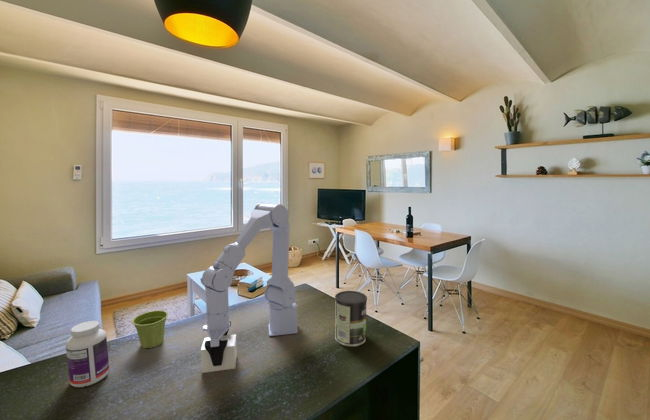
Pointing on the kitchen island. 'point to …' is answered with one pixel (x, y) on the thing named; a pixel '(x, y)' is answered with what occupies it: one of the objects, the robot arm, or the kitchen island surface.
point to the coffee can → (350, 318)
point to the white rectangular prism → (228, 355)
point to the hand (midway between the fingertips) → (219, 356)
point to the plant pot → (150, 328)
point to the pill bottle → (87, 354)
